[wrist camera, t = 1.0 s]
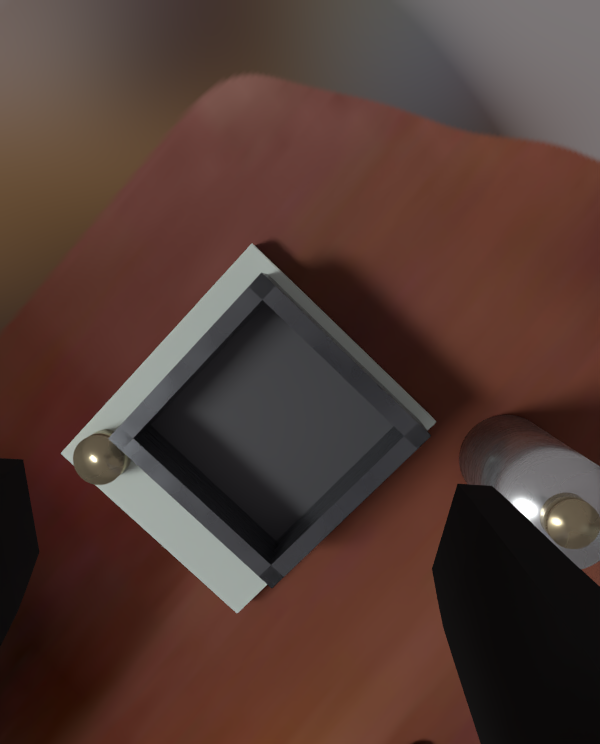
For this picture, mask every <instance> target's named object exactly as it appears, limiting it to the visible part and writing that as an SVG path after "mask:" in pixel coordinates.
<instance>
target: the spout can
mask: <svg viewBox="0 0 600 744" xmlns="http://www.w3.org/2000/svg"><path fill="white" fill-rule="evenodd" d="M459 465H460V470H461V473H462V476H463V478H464V479H465V481H466V482H467V484H469V485H487V486H493V487H494V488H495V489H496V490H497V491H499V492H500V493H501V494H502V495H503V496H504V497H505V498H506V499H507V500H508V501H510V502H511V503H512V504H513V505H514V506H515V507H516V508H517V509H518V510H519V511H520V512H521V513H522V514H523V515H524V516H525V517H526V518H527V519H528V520H529V521H530V522H532V523H533V524H534V525H535V526H536V527H537V528H538V529H539V530H540V531H541V532H542V533H543V534H544V535H545V536H546V537H547V538H548V539H549V540H550V541H551V542H552V543H553V544H554V545H555V546H557V547H558V548H559V549H560V550H561V551H562V552H563V553H564V554H565V555H566V556H567V557H568V558H569V559H570V560H571V561H572V562H573V563H575V564H576V565H577V566H578V567H579V568H580V569H584V568H586V567H589V566H591V565H593V564H595V563H597V562H598V561H600V466H598V465H597V464H595V463H594V462H592V461H590V460H589V459H587V458H586V457H584V456H583V455H581V454H580V453H578V452H577V451H575V450H574V449H572V448H570V447H569V446H567V445H566V444H564V443H563V442H561V441H560V440H558V439H557V438H555V437H553V436H552V435H550V434H549V433H547V432H546V431H544V430H543V429H541V428H540V427H538V426H536V425H535V424H533V423H532V422H530V421H529V420H527V419H525V418H522V417H519V416H514V415H498V416H493V417H490V418H487V419H485V420H483V421H482V422H480V423H478V424H477V425H476V426H475V427H473V428H472V429H471V431H470V432H469V433H468V434H467V436H466V437H465V439H464V441H463V443H462V446H461V449H460V454H459Z"/></svg>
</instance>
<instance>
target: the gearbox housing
mask: <svg viewBox="0 0 600 744" xmlns="http://www.w3.org/2000/svg"><path fill="white" fill-rule="evenodd" d="M435 423H436V421H435V420H434V418H433V417H432V416H431V415H430V414H429V413H428V412H427V411H426V410H425V409H424V408H422V407H421V406H420V405H419V404H418V403H417V402H416V401H415V400H414V399H413V398H412V397H411V396H410V395H409V394H408V393H407V392H406V391H405V390H404V389H403V388H402V387H401V386H400V385H399V384H398V383H397V382H396V381H395V380H394V379H393V378H391V377H390V376H389V375H388V374H387V373H386V372H385V371H384V370H383V369H382V368H381V367H380V366H379V365H378V364H377V363H376V362H375V361H374V360H373V359H372V358H371V357H370V356H369V355H368V354H367V353H366V352H365V351H364V350H363V349H362V348H360V347H359V346H358V345H357V344H356V343H355V342H354V341H353V340H352V339H351V338H350V337H349V336H348V335H347V334H346V333H345V332H344V331H343V330H342V329H341V328H340V327H339V326H338V325H337V324H336V323H335V322H334V321H333V320H332V319H331V318H329V317H328V316H327V315H326V314H325V313H324V312H323V311H322V310H321V309H320V308H319V307H318V306H317V305H316V304H315V303H314V302H313V301H312V300H311V299H310V298H309V297H308V296H307V295H306V294H305V293H304V292H303V291H302V290H301V289H299V288H298V287H297V286H296V285H295V284H294V283H293V282H292V281H291V280H290V279H289V278H288V277H287V276H286V275H285V274H284V273H283V272H282V271H281V270H280V269H279V268H278V267H277V266H276V265H275V264H274V263H273V262H272V261H271V260H270V259H268V258H267V257H266V256H265V255H264V254H263V253H262V252H261V251H260V250H259V249H258V248H257V247H256V246H255V245H254V244H251V245H250V246H249V247H248V248H247V249H246V250H245V252H244V253H243V254H242V255H241V256H240V257H239V258H238V259H237V260H236V261H235V262H234V264H233V265H232V266H231V267H230V268H229V269H228V270H227V271H226V272H225V273H224V275H223V276H222V277H221V278H220V279H219V280H218V281H217V282H216V283H215V284H214V286H213V287H212V288H211V289H210V290H209V291H208V292H207V293H206V294H205V295H204V297H203V298H202V299H201V300H200V301H199V302H198V303H197V304H196V305H195V306H194V308H193V309H192V310H191V311H190V312H189V313H188V314H187V315H186V316H185V317H184V318H183V320H182V321H181V322H180V323H179V324H178V325H177V326H176V327H175V328H174V329H173V331H172V332H171V333H170V334H169V335H168V336H167V337H166V338H165V339H164V340H163V342H162V343H161V344H160V345H159V346H158V347H157V348H156V349H155V350H154V351H153V353H152V354H151V355H150V356H149V357H148V358H147V359H146V360H145V361H144V362H143V363H142V365H141V366H140V367H139V368H138V369H137V370H136V371H135V372H134V373H133V374H132V376H131V377H130V378H129V379H128V380H127V381H126V382H125V383H124V384H123V385H122V387H121V388H120V389H119V390H118V391H117V392H116V393H115V394H114V395H113V396H112V398H111V399H110V400H109V401H108V402H107V403H106V404H105V405H104V406H103V407H102V409H101V410H100V411H99V412H98V413H97V414H96V415H95V416H94V417H93V418H92V419H91V421H90V422H89V423H88V424H87V425H86V426H85V427H84V428H83V429H82V430H81V432H80V433H79V434H78V435H77V436H76V437H75V438H74V439H73V440H72V441H71V443H70V444H69V445H68V446H67V447H66V448H65V449H64V450H63V451H62V452H61V454H62V455H63V456H64V457H65V458H66V459H67V460H68V461H70V462H71V463H72V464H73V465H74V467H75V470H76V471H77V473H78V474H79V476H80V477H81V478H82V479H84V480H85V481H87V482H89V483H91V484H95V485H96V486H97V487H98V488H99V489H100V490H101V491H103V492H104V493H105V494H106V495H107V496H108V497H109V498H110V499H111V500H113V501H114V502H115V503H116V504H117V505H118V506H119V507H120V508H121V509H122V510H124V511H125V512H126V513H127V514H128V515H129V516H130V517H131V518H132V519H133V520H135V521H136V522H137V523H138V524H139V525H140V526H141V527H142V528H143V529H144V530H146V531H147V532H148V533H149V534H150V535H151V536H152V537H153V538H154V539H156V540H157V541H158V542H159V543H160V544H161V545H162V546H163V547H164V548H165V549H167V550H168V551H169V552H170V553H171V554H172V555H173V556H174V557H175V558H176V559H178V560H179V561H180V562H181V563H182V564H183V565H184V566H185V567H186V568H187V569H189V570H190V571H191V572H192V573H193V574H194V575H195V576H196V577H197V578H199V579H200V580H201V581H202V582H203V583H204V584H205V585H206V586H207V587H208V588H210V589H211V590H212V591H213V592H214V593H215V594H216V595H217V596H218V597H219V598H221V599H222V600H223V601H224V602H225V603H226V604H227V605H228V606H229V607H231V608H232V609H233V610H234V611H235V612H236V613H238V612H239V611H240V610H241V609H242V608H243V607H244V606H245V605H247V604H248V603H249V602H250V601H251V600H252V599H253V598H254V597H255V596H256V595H257V594H258V593H259V592H260V591H261V590H262V589H263V588H264V587H265V586H266V585H269V586H270V587H271V588H273V587H274V586H275V585H276V584H277V583H278V582H279V581H280V580H281V579H282V578H283V577H284V576H285V575H286V574H287V573H288V572H289V571H291V570H292V569H293V568H294V567H295V566H296V565H297V564H298V563H299V562H300V561H301V560H302V559H303V558H304V557H305V556H306V555H307V554H308V553H309V552H310V551H311V550H312V549H314V548H315V547H316V546H317V545H318V544H319V543H320V542H321V541H322V540H323V539H324V538H325V537H326V536H327V535H328V534H329V533H330V532H331V531H332V530H333V529H334V528H335V527H336V526H338V525H339V524H340V523H341V522H342V521H343V520H344V519H345V518H346V517H347V516H348V515H349V514H350V513H351V512H352V511H353V510H354V509H355V508H356V507H357V506H358V505H359V504H360V503H362V502H363V501H364V500H365V499H366V498H367V497H368V496H369V495H370V494H371V493H372V492H373V491H374V490H375V489H376V488H377V487H378V486H379V485H380V484H381V483H382V482H383V481H385V480H386V479H387V478H388V477H389V476H390V475H391V474H392V473H393V472H394V471H395V470H396V469H397V468H398V467H399V466H400V465H401V464H402V463H403V462H404V461H405V460H406V459H407V458H409V457H410V456H411V455H412V454H413V453H414V452H415V451H416V450H417V449H418V448H419V447H420V446H421V445H422V444H423V443H424V442H425V441H426V440H427V439H428V438H429V437H430V436H431V435H430V434H429V432H428V430H429V429H430V428H431V427H432V426H433V425H434V424H435Z"/></svg>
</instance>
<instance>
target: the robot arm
mask: <svg viewBox="0 0 600 744" xmlns="http://www.w3.org/2000/svg"><path fill="white" fill-rule="evenodd" d="M38 554H39V548H38V542H37V536H36V531H35V525H34V519H33V514H32V508H31V502H30V497H29V491H28V485H27V480H26V474H25V468H24V463H23V460H20V459H2V458H0V646H1V644H2V642H3V640H4V638H5V636H6V634H7V632H8V630H9V628H10V626H11V624H12V622H13V620H14V618H15V616H16V614H17V611H18V609H19V606H20V603H21V601H22V598H23V596H24V593H25V590H26V588H27V585H28V582H29V580H30V577H31V574H32V571H33V568H34V565H35V562H36V560H37V557H38ZM432 571H433V577H434V582H435V588H436V593H437V599H438V604H439V609H440V613H441V618H442V623H443V627H444V631H445V634H446V637H447V641H448V644H449V647H450V650H451V653H452V656H453V659H454V663H455V666H456V669H457V672H458V675H459V678H460V681H461V684H462V688H463V691H464V694H465V697H466V700H467V703H468V706H469V709H470V712H471V715H472V718H473V721H474V724H475V727H476V731H477V734H478V737H479V740H480V743H481V744H600V587H599V586H598V585H597V584H596V583H595V582H594V581H593V580H592V579H591V578H590V577H589V576H587V575H586V574H585V573H584V572H583V571H582V570H581V569H580V568H579V567H578V566H577V565H576V564H575V563H573V562H572V561H571V560H570V559H569V558H568V557H567V556H566V555H565V554H564V553H563V552H562V551H561V550H560V549H559V548H558V547H557V546H555V545H554V544H553V543H552V542H551V541H550V540H549V539H548V538H547V537H546V536H545V535H544V534H543V533H542V532H541V531H540V530H539V529H538V528H537V527H536V526H535V525H534V524H533V523H532V522H530V521H529V520H528V519H527V518H526V517H525V516H524V515H523V514H522V513H521V512H520V511H519V510H518V509H517V508H516V507H515V506H514V505H513V504H512V503H511V502H510V501H508V500H507V499H506V498H505V497H504V496H503V495H502V494H501V493H500V492H499V491H497V490H496V489H495V488H494V487H493V486H487V485H469V484H457V488H456V491H455V494H454V497H453V501H452V504H451V507H450V511H449V514H448V517H447V521H446V524H445V527H444V531H443V534H442V537H441V541H440V544H439V547H438V551H437V554H436V557H435V561H434V564H433V567H432Z"/></svg>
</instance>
